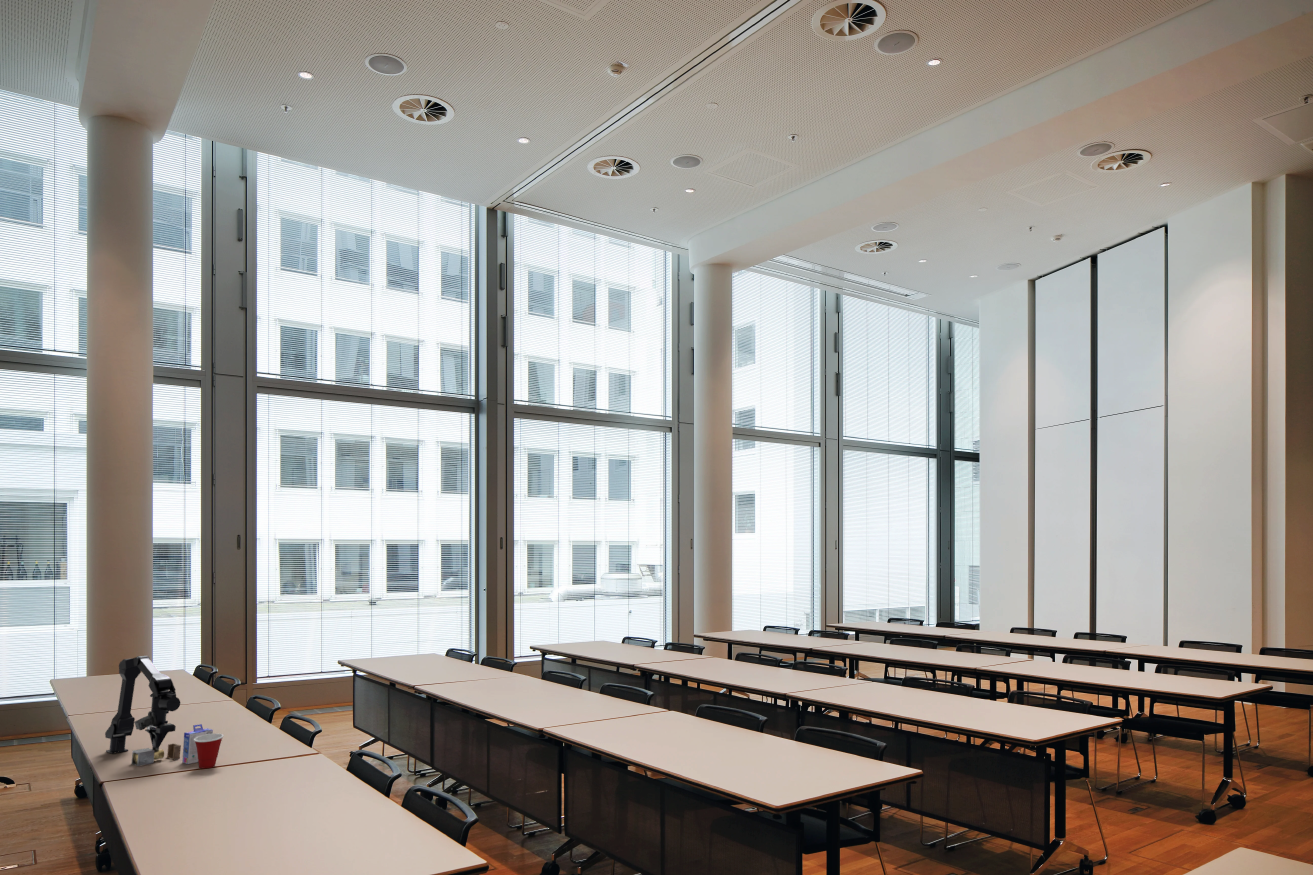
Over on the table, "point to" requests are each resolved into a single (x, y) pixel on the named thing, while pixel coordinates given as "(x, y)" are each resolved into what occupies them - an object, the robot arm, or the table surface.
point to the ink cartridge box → (193, 743)
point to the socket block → (173, 751)
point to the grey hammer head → (143, 756)
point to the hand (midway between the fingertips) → (155, 747)
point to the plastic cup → (208, 749)
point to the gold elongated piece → (157, 754)
